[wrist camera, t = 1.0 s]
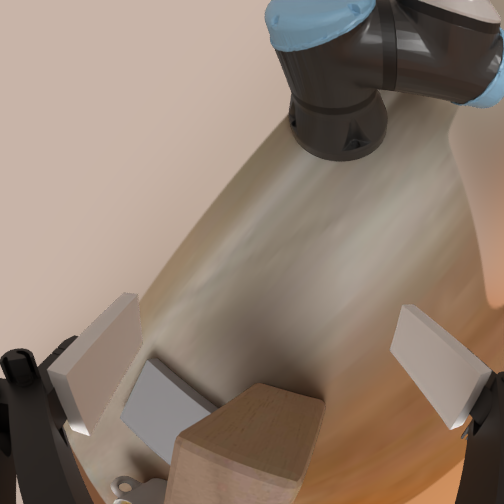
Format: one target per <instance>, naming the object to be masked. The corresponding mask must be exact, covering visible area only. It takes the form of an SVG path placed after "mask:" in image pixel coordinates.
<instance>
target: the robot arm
mask: <svg viewBox="0 0 504 504" xmlns="http://www.w3.org/2000/svg"><path fill="white" fill-rule="evenodd" d="M265 22H266V25H267V28H268V31H269V34H270V42H271V44H272V46H273V47H274V49H275V51H276V54H277V56H278V58H279V61H280V63H281V66H282V69H283V71H284V74H285V76H286V79H287V82H288V85H289V87H290V90H291V93H292V94H291V101H290V108H289V123H290V126H291V129H292V132H293V134H294V137H295V139H296V140H297V142H298V143H299V144H300V145H301V146H302V147H303V148H304V149H305V150H306V151H308V152H309V153H311V154H313V155H315V156H317V157H320V158H322V159H326V160H331V161H351V160H356V159H359V158H362V157H364V156H366V155H368V154H370V153H372V152H373V151H374V150H375V149H377V148H378V146H379V145H380V144H381V143H382V141H383V139H384V137H385V134H386V130H387V111H386V108H385V105H384V103H383V100H382V98H381V96H380V93H379V91H378V89H382V90H391V91H397V92H404V93H411V94H417V95H422V96H428V97H433V98H438V99H442V100H447V101H451V103H453V104H456V105H460V106H462V105H464V106H466V105H468V106H472V107H476V108H489V107H492V106H494V105H495V104H497V103H498V102H499V101H500V100H501V99H502V98H503V97H504V30H503V29H501V28H500V22H501V18H500V16H499V14H498V13H497V11H496V10H495V8H494V7H493V5H492V4H491V3H490V1H489V0H271V2H270V3H269V4H268V6H267V8H266V11H265ZM142 345H143V338H142V330H141V321H140V311H139V299H138V294H132V293H123V294H122V295H121V296H120V297H119V298H118V299H116V300H115V301H114V302H113V303H112V304H111V305H110V306H109V307H108V308H107V309H106V310H105V311H104V312H103V313H102V314H101V315H100V316H99V317H98V318H97V319H96V320H95V321H94V322H93V323H92V324H91V325H90V326H89V327H88V328H87V329H86V330H85V331H84V332H83V333H82V334H81V335H80V336H72V337H70V338H68V339H66V340H65V341H64V342H63V343H61V344H60V345H59V346H58V349H57V348H56V349H55V350H54V351H53V352H52V354H50V355H49V356H48V357H47V358H46V359H45V360H44V361H43V363H41V364H40V365H39V366H38V367H37V365H36V362H35V359H34V356H33V353H32V352H31V351H29V350H27V349H23V348H21V349H14V350H10V351H8V352H6V353H5V354H4V355H3V356H2V357H1V359H0V365H1V367H2V370H3V372H4V375H5V377H6V379H2V378H0V504H16V474H17V479H18V484H19V488H20V492H21V496H22V500H23V503H24V504H94V503H93V501H92V499H91V497H90V495H89V493H88V490H87V488H86V486H85V484H84V481H83V479H82V477H81V474H80V472H79V469H78V467H77V464H76V461H75V459H74V456H73V453H72V450H71V447H70V444H69V441H68V438H67V435H66V432H65V430H64V428H63V424H64V423H65V421H66V420H68V422H69V424H70V426H71V428H72V430H74V431H77V432H79V433H82V434H85V435H88V436H90V435H91V434H92V432H93V430H94V428H95V426H96V424H97V423H98V421H99V419H100V417H101V415H102V413H103V412H104V410H105V408H106V406H107V405H108V403H109V401H110V399H111V397H112V396H113V394H114V392H115V390H116V389H117V387H118V385H119V384H120V382H121V380H122V378H123V377H124V375H125V373H126V372H127V370H128V368H129V366H130V365H131V363H132V361H133V360H134V358H135V356H136V355H137V353H138V351H139V350H140V348H141V346H142ZM390 351H391V353H392V354H393V355H394V356H395V358H396V359H397V360H398V361H399V363H400V364H401V365H402V366H403V368H404V369H405V370H406V372H407V373H408V374H409V375H410V377H411V378H412V379H413V381H414V382H415V383H416V385H417V386H418V387H419V389H420V390H421V391H422V392H423V394H424V395H425V396H426V398H427V399H428V400H429V402H430V403H431V405H432V406H433V407H434V409H435V410H436V411H437V413H438V414H439V415H440V417H441V418H442V419H443V421H444V422H445V424H446V425H447V426H448V428H449V429H450V430H451V429H454V428H456V427H459V426H461V425H463V423H464V422H465V420H466V419H467V417H468V415H469V414H470V415H471V416H472V418H473V419H472V420H471V422H470V424H469V425H468V427H467V428H466V430H465V431H464V433H463V434H462V436H461V439H463V438H464V436H465V435H466V434H468V436H467V438H466V440H467V447H466V454H465V460H464V466H463V471H462V476H461V480H460V485H459V489H458V493H457V497H456V501H455V504H504V372H499V373H498V374H496V373H495V372H494V371H493V370H491V369H490V368H489V367H488V366H487V365H486V364H485V363H484V362H482V361H481V360H480V359H479V358H478V357H477V356H476V355H474V354H473V353H472V352H471V351H470V350H469V349H468V348H466V347H465V346H464V345H462V344H461V343H460V342H459V341H458V340H456V339H455V338H454V337H453V336H452V335H451V334H449V333H448V332H447V331H446V330H445V329H443V328H442V327H441V326H440V325H438V324H437V323H436V322H435V321H434V320H432V319H431V318H430V317H429V316H427V315H426V314H425V313H424V312H422V311H421V310H420V309H419V308H417V307H416V306H415V305H414V304H412V305H402V308H401V312H400V316H399V320H398V323H397V327H396V331H395V334H394V338H393V341H392V344H391V348H390Z"/></svg>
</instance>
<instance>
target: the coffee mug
mask: <svg viewBox="0 0 504 504" xmlns="http://www.w3.org/2000/svg"><path fill="white" fill-rule="evenodd" d="M167 482H168V481H166V480H163V479H159V478H153V479H150V480H149V481H148V482H146V483H140V482H138V481H137V480H135V479H133V478H131V477H129V476H120V477H118V478H116V479H114V481H113V482H112V483H111V489H112V491H113V492H114V494H115V495H116V496H117V497H118V499H116V500H115V501H114V503H113V504H164V500H165V494H166V488H167ZM122 483H127V484H129V485H130V486H131V487H132V490H131V491H128V492H123V491H121V490H120V489H119V485H120V484H122Z"/></svg>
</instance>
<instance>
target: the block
mask: <svg viewBox="0 0 504 504" xmlns="http://www.w3.org/2000/svg"><path fill="white" fill-rule="evenodd" d="M325 409H326V406H325V402H323V401H322V400H320V399H316V398H312V397H308V396H304V395H300V394H297V393H293V392H290V391H286V390H283V389H279V388H276V387H272V386H269V385H266V384H263V383H256V384H254V385H253V386H251V387H250V388H249V389H247V390H246V391H244V392H243V393H241V394H240V395H238V396H237V397H235V398H234V399H233V400H231V401H230V402H228V403H227V404H225V405H223V406H222V407H220V408H219V409H217V410H216V411H214V412H213V413H211V414H210V415H208V416H206V417H205V418H203V419H202V420H200V421H198V422H197V423H195V424H193V425H192V426H190V427H188V428H187V429H185V430H183V431H181V432H180V434H179V435H178V436H177V437H176V440H175V443H174V448H173V454H172V459H171V465H170V470H169V476H168V482H167V488H166V494H165V500H164V504H293V502H294V500H295V498H296V496H297V494H298V492H299V490H300V488H301V486H302V483H303V480H304V478H305V475H306V472H307V469H308V466H309V463H310V460H311V457H312V454H313V451H314V447H315V444H316V441H317V437H318V434H319V431H320V427H321V424H322V420H323V416H324V413H325Z"/></svg>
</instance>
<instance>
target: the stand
mask: <svg viewBox="0 0 504 504" xmlns="http://www.w3.org/2000/svg"><path fill="white" fill-rule="evenodd" d="M217 409H219V408H217V407H216V406H215V405H213V404H212V403H211V402H209V401H208V400H207V399H206V398H204V397H203V396H202V395H200V394H199V393H198V392H197V391H195V390H194V389H193V388H192V387H190V386H189V385H188V384H187V383H185V382H184V381H183V380H182V379H181V378H179V377H178V376H177V375H176V374H175V373H173V372H172V371H171V370H170V369H169V368H168V367H167V366H165V365H164V364H163V363H162V362H161V361H160V360H159V359H158V358H155V359H149V360H147V361H146V363H145V365H144V367H143V369H142V372H141V374H140V376H139V378H138V380H137V382H136V384H135V386H134V388H133V390H132V392H131V394H130V397H129V399H128V401H127V403H126V405H125V407H124V409H123V412H122V414H121V416H120V419H121V420H122V421H123V422H124V423H125V424H126V425H127V426H128V427H129V428H130V429H131V430H132V431H133V432H134V433H135V434H136V435H137V436H138V437H139V438H140V439H141V440H142V441H143V442H144V443H145V444H146V445H147V446H148V447H150V448H151V449H152V450H153V451H154V452H155V453H156V454H157V455H158V456H160V457H161V458H162V459H163V460H164V461H165V462H167V463H168V464H169V465H171V459H172V454H173V448H174V443H175V440H176V437H177V436H178V435H179V434H180V432H181V431H183V430H185V429H187V428H188V427H190V426H192V425H193V424H195V423H197V422H198V421H200V420H202V419H203V418H205V417H206V416H208V415H210V414H211V413H213V412H214V411H216V410H217Z"/></svg>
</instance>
